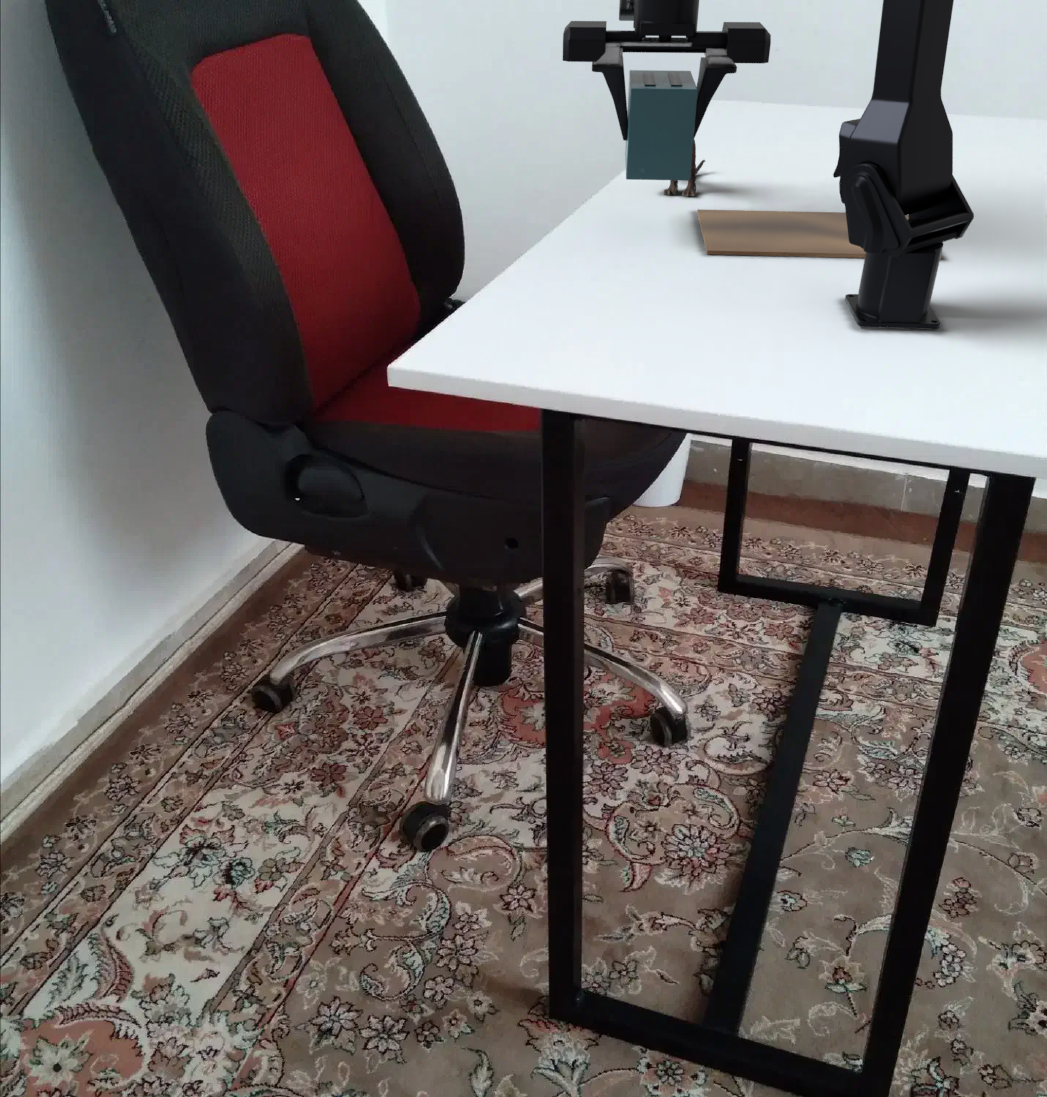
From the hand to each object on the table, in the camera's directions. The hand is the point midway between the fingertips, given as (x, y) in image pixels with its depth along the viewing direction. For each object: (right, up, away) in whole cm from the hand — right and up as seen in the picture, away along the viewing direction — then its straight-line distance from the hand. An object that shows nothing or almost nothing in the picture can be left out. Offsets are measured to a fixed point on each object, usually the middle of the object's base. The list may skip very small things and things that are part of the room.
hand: (658, 140), depth 100 cm
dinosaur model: (+6, +2, +20) cm, 21 cm away
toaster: (0, -2, +1) cm, 2 cm away
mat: (+16, -8, +4) cm, 18 cm away
